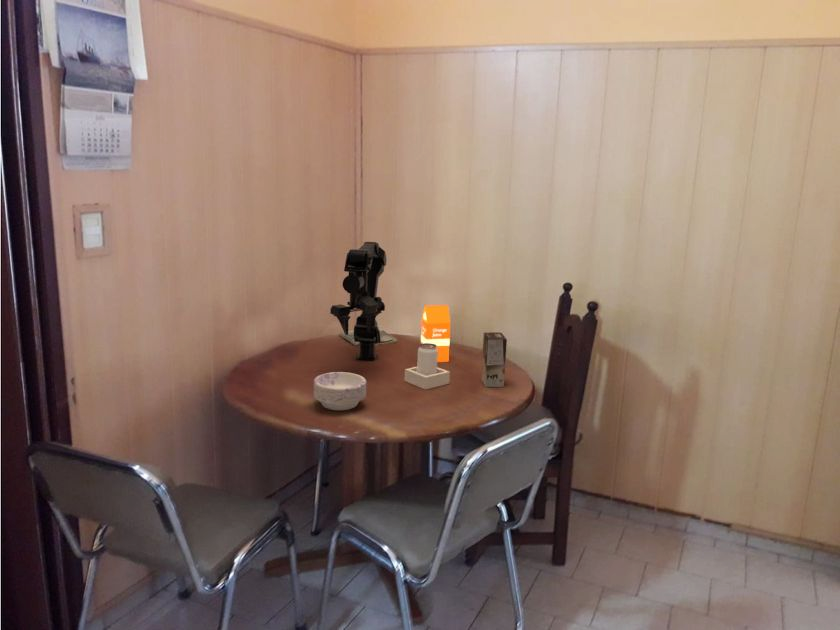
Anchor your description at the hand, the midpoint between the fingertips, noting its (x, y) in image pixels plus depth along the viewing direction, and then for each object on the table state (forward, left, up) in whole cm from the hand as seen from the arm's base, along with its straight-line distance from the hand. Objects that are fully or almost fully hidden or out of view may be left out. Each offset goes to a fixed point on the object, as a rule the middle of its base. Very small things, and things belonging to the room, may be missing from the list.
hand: (357, 333), depth 231 cm
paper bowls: (+34, +3, -13) cm, 37 cm away
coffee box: (+2, +46, -13) cm, 48 cm away
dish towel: (-40, -5, -14) cm, 43 cm away
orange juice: (-20, +24, -13) cm, 34 cm away
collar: (+7, +25, -13) cm, 29 cm away
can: (+7, +25, -13) cm, 29 cm away
